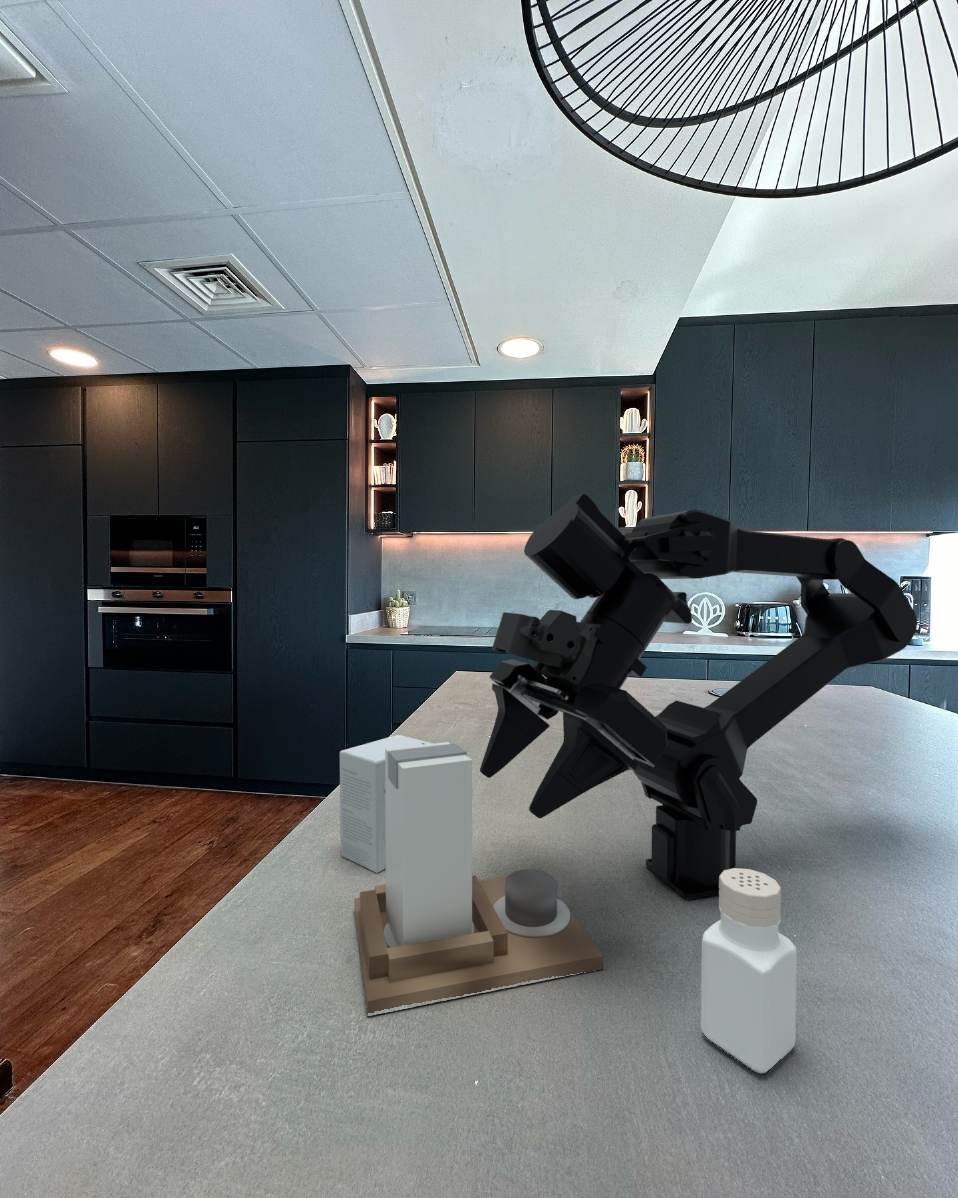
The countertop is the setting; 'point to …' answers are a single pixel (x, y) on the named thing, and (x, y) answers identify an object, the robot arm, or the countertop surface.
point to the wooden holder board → (475, 944)
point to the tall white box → (428, 842)
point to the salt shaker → (749, 972)
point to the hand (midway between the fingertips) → (506, 793)
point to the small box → (366, 801)
